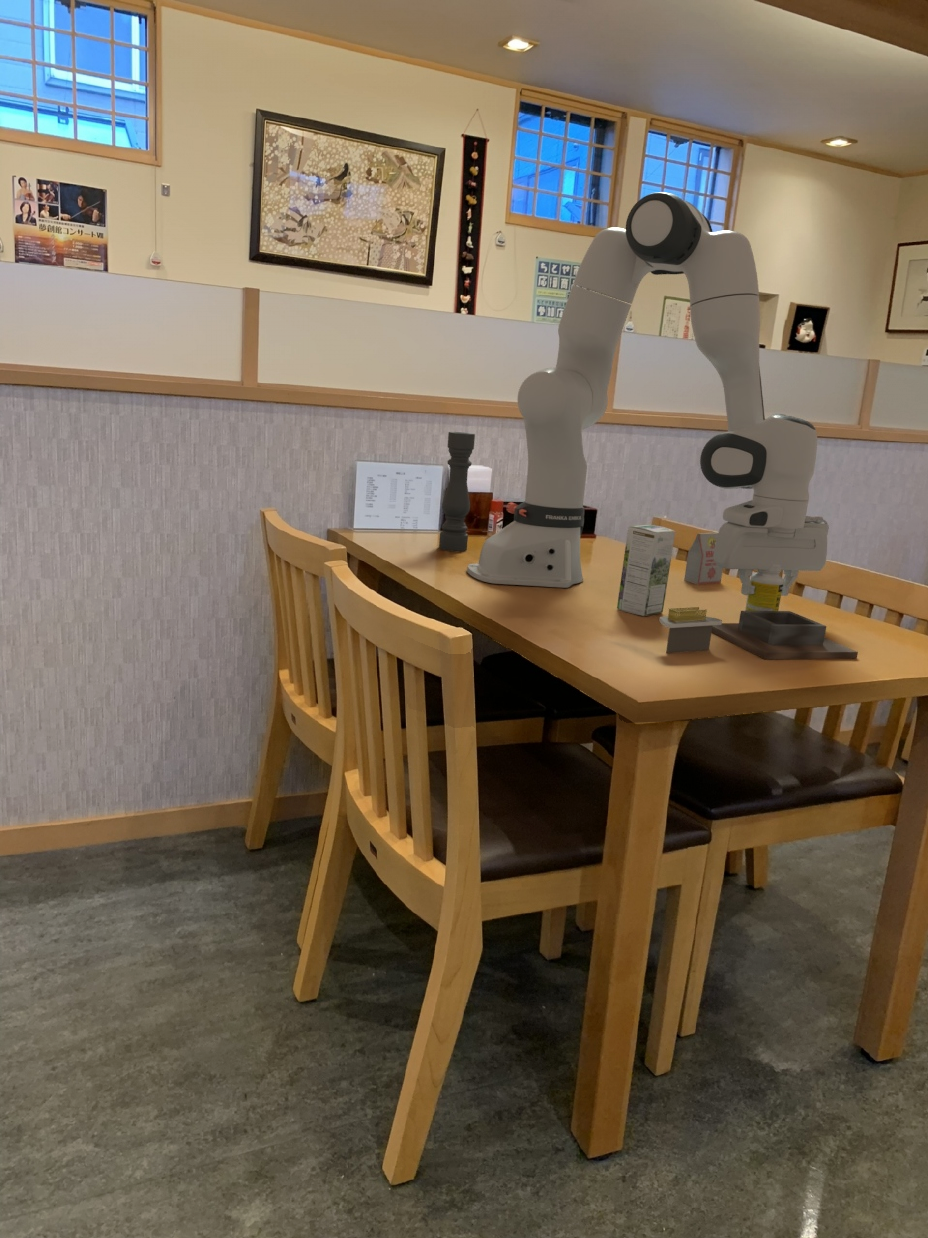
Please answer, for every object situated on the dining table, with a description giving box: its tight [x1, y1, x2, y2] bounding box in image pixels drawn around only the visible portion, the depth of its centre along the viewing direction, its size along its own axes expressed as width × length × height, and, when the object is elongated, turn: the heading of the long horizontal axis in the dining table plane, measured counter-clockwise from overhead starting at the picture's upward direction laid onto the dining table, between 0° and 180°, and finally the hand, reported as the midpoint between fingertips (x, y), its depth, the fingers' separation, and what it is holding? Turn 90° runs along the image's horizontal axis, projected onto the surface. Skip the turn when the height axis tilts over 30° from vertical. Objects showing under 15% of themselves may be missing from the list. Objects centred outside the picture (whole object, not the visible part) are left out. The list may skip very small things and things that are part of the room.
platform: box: [658, 606, 723, 654], centre depth 130 cm, size 12×18×7 cm, turn 117°
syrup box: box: [616, 524, 676, 617], centre depth 150 cm, size 6×6×14 cm
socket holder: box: [711, 610, 859, 660], centre depth 138 cm, size 16×16×4 cm
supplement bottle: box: [744, 565, 784, 611], centre depth 153 cm, size 5×5×10 cm
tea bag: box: [683, 532, 724, 585], centre depth 182 cm, size 4×7×10 cm, turn 123°
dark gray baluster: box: [438, 431, 476, 552], centre depth 193 cm, size 6×6×25 cm
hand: (764, 594), depth 153 cm, fingers closed on supplement bottle, 5 cm apart
